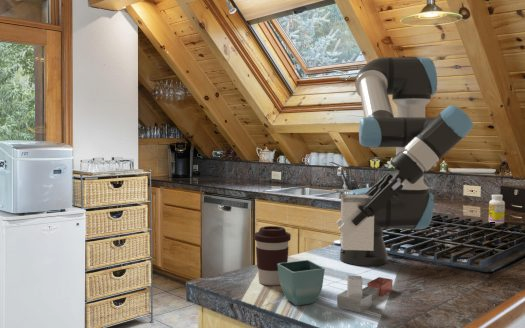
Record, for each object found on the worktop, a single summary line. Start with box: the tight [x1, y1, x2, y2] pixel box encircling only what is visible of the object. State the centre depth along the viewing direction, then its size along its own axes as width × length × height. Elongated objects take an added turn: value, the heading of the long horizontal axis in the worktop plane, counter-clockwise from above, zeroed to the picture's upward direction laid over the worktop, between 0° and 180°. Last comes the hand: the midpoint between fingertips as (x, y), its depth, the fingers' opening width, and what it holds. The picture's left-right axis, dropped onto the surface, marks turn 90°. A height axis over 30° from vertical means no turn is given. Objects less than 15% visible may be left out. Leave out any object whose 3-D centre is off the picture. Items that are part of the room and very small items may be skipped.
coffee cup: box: [253, 225, 292, 286], centre depth 141 cm, size 10×10×15 cm
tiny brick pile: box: [336, 275, 393, 314], centre depth 128 cm, size 6×21×7 cm, turn 143°
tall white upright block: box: [340, 193, 374, 251], centre depth 121 cm, size 7×7×12 cm
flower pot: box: [277, 259, 326, 306], centre depth 126 cm, size 9×9×9 cm
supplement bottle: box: [488, 194, 506, 225], centre depth 239 cm, size 7×7×13 cm
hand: (341, 229), depth 122 cm, fingers closed on tall white upright block, 7 cm apart
